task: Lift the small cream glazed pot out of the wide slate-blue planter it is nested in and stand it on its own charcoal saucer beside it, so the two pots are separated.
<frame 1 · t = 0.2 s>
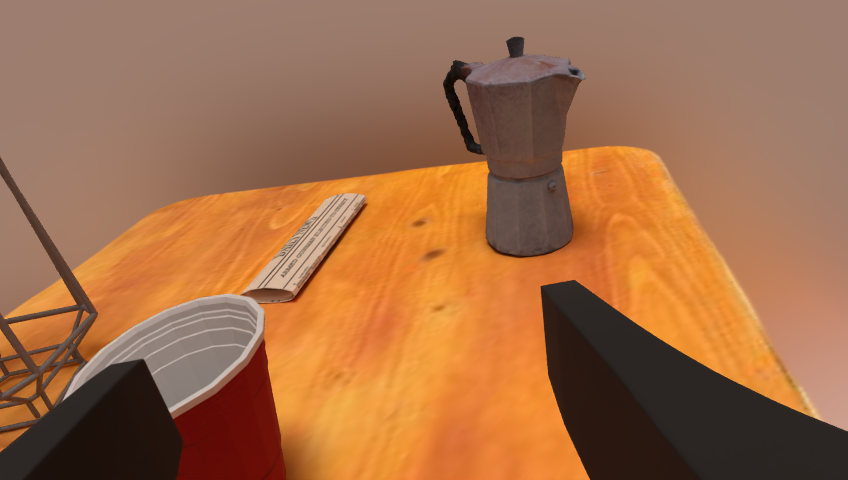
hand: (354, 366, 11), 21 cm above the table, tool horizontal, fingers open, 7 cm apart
newspaper: (310, 248, 69), on the table
moka pot: (526, 238, 61), on the table
geometric lantern: (28, 398, 52), on the table
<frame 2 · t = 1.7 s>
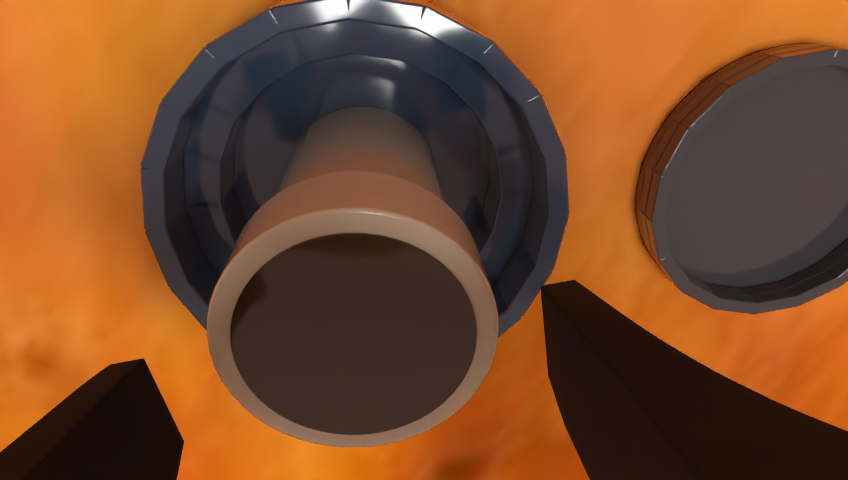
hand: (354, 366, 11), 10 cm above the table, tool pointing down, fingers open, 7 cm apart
planter: (364, 173, 20), on the table
clay pot: (363, 178, 19), resting on planter
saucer: (764, 180, 21), on the table
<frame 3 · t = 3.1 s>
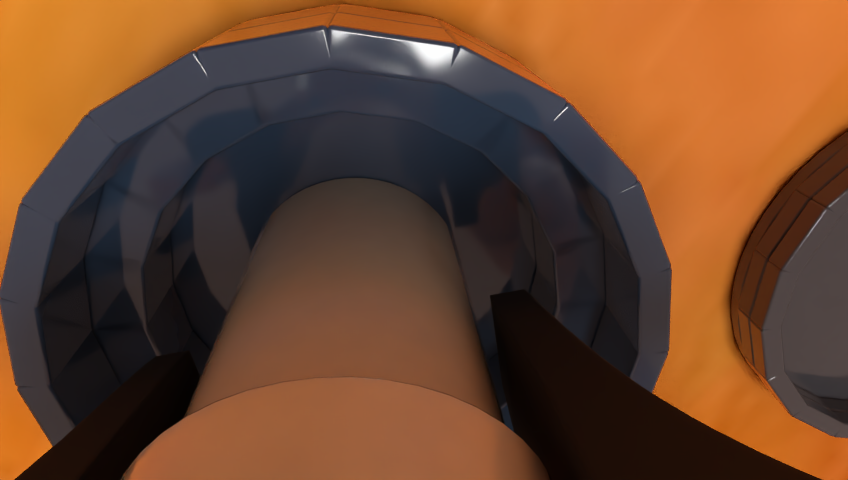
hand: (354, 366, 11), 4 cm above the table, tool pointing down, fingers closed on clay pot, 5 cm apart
planter: (358, 262, 14), on the table
clay pot: (357, 273, 14), point 1 cm above the table, touching gripper, planter
when the fingers open (4 cm above the table, at t = 8.3 s): clay pot stays where it is, resting on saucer.
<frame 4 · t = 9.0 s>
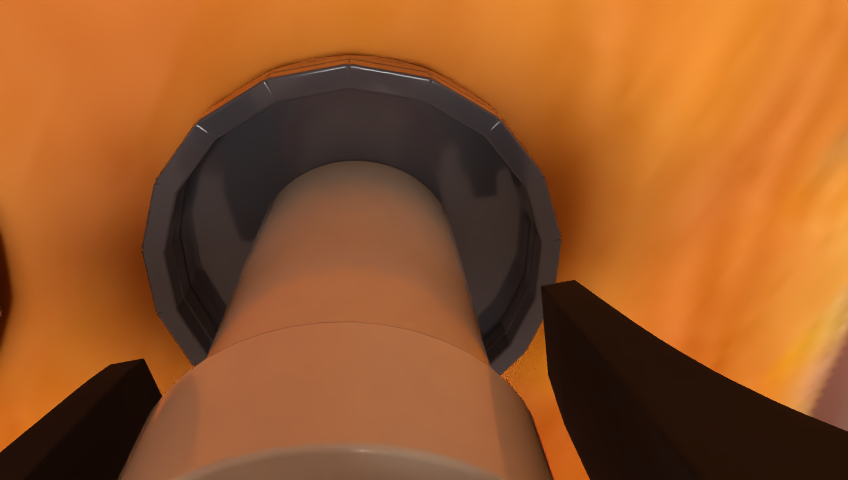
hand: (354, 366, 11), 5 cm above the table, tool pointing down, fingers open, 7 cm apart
clay pot: (358, 252, 14), resting on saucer
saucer: (359, 246, 15), on the table
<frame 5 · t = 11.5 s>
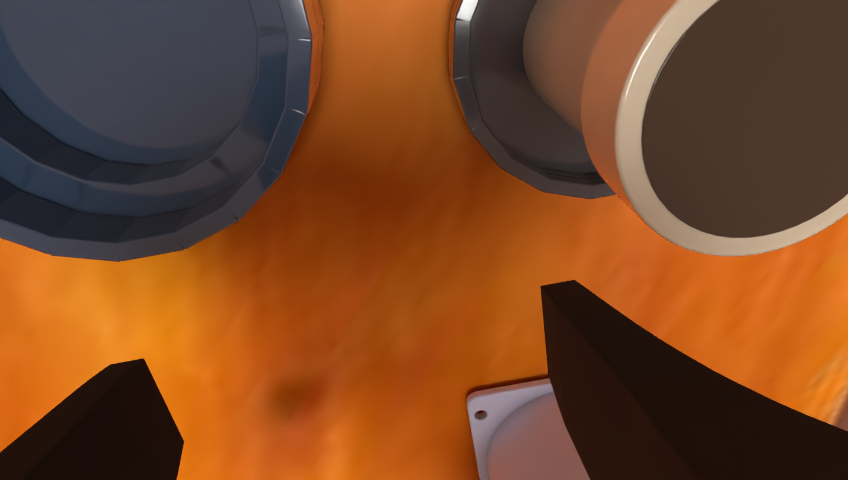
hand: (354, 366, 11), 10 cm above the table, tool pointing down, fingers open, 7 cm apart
planter: (125, 24, 17), on the table
clay pot: (598, 42, 18), resting on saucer
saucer: (595, 42, 19), on the table
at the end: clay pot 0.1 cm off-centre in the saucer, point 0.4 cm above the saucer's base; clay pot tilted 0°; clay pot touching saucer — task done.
